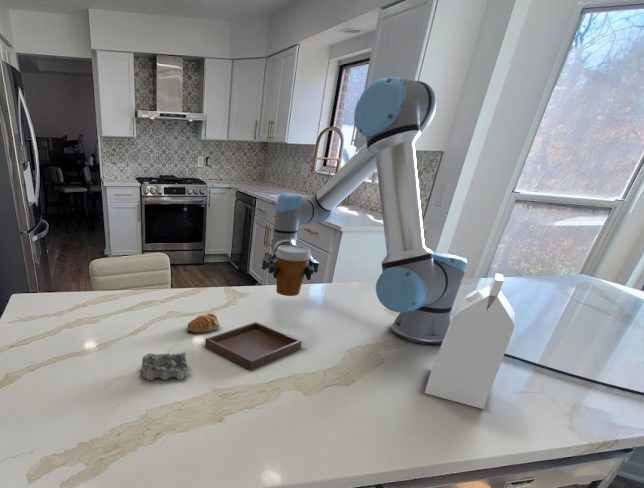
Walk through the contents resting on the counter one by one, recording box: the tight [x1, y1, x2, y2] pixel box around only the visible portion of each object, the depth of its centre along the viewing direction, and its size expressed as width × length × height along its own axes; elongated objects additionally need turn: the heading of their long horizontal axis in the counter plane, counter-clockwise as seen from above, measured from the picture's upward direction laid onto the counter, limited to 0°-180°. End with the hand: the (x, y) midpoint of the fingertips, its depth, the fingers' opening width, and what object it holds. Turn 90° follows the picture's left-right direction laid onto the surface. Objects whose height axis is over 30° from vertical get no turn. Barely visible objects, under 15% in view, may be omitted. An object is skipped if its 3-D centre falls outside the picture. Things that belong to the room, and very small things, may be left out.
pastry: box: [186, 313, 221, 334], centre depth 124 cm, size 9×7×4 cm
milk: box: [424, 273, 516, 410], centre depth 92 cm, size 12×12×26 cm
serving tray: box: [204, 321, 303, 371], centre depth 114 cm, size 17×20×2 cm
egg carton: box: [141, 352, 189, 381], centre depth 100 cm, size 11×8×4 cm
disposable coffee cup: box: [275, 244, 312, 297], centre depth 117 cm, size 10×10×12 cm
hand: (292, 273), depth 112 cm, fingers closed on disposable coffee cup, 8 cm apart
